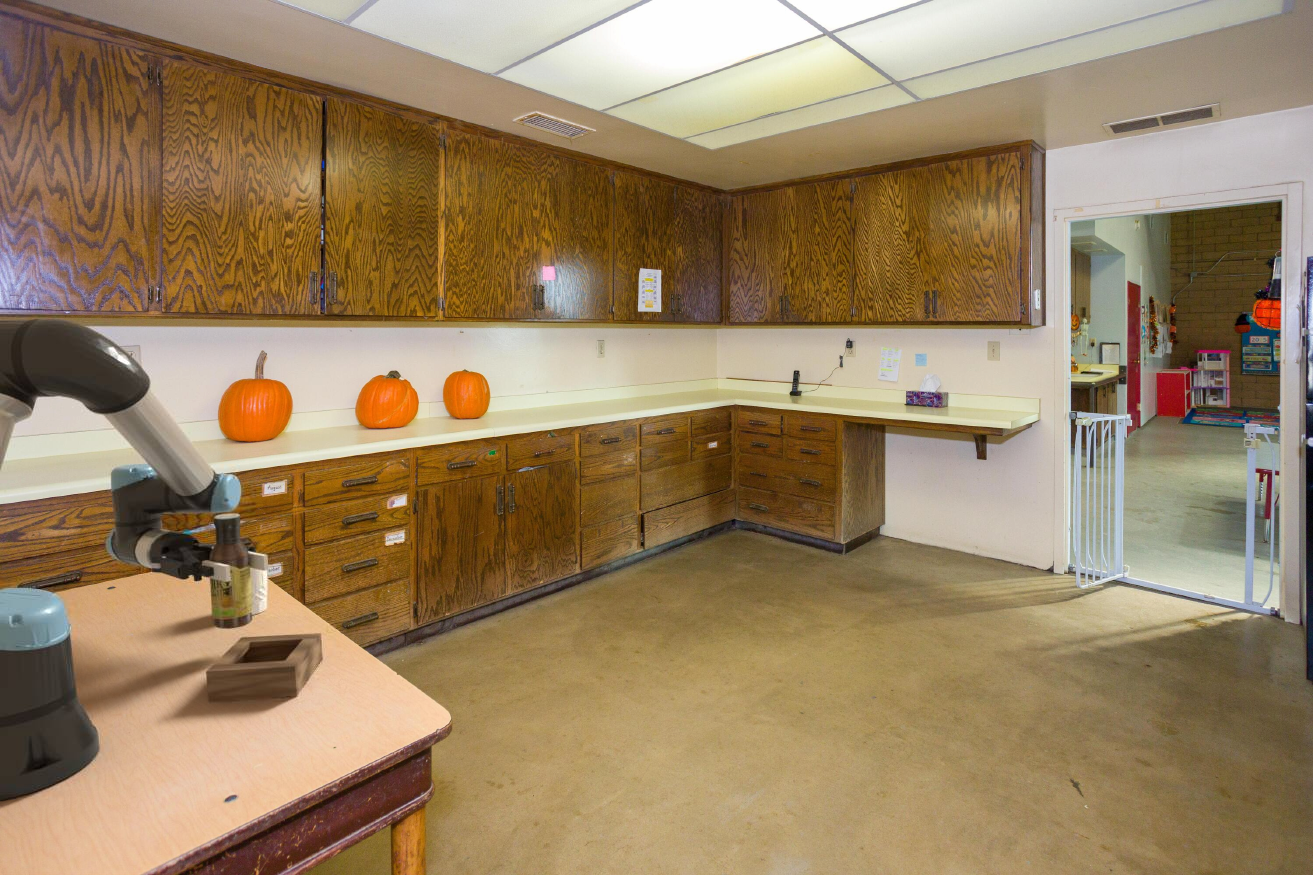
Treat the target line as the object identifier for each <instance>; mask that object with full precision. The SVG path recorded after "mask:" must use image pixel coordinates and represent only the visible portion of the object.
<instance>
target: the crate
mask: <svg viewBox="0 0 1313 875" xmlns="http://www.w3.org/2000/svg"><path fill="white" fill-rule="evenodd" d="M322 644H323V643H322V632H318V633H317V632H315V633H300V634H299V633H298V634H295V633H294V634H281V635H279V634H277V635H263V636H261V635H259V636H258V635H257V636H242V637H240V638H239V639H238V640H237V641H236V642H234V644H233V645H232V646H231V647H230V648H229V649H228V650H227V651H226V652H225V653H224V654H223V655H222V656H220V657H219V659H218V660H216V661H215V662H214V663H213V665H211V666H210V667H209V668H208V669H207V670H206V671H205V673H206V685H207V698H208V702H209V703H210V702H211V703H212V702H225V701H230V702H231V701H244V700H246V701H247V700H258V699H260V700H261V699H274V697H278V698H285V697H284V696H293V697H298V696H299V694H300V693H301V691H302V690H303V689H302V688H304V687H305V686H306V684H307V683H308V682H309V680H310V679H311V677H312V676H313V675H314V673H315V672H316V671H315V670H317V669H318V668H317V667H319V666H320V665H321V664H320V662H321V661H322V660H324V659H323V658H324V657H323V645H322ZM322 662H323V661H322ZM322 662H321V663H322ZM319 664H320V665H319ZM318 665H319V666H318ZM316 668H317V669H316ZM314 671H315V672H314ZM313 672H314V673H313ZM312 674H313V675H312ZM311 675H312V676H311ZM310 676H311V677H310ZM309 678H310V679H309ZM307 681H308V682H307ZM306 682H307V683H306ZM304 685H305V686H304ZM299 692H300V693H299ZM297 695H298V696H297ZM272 697H273V698H272Z"/></svg>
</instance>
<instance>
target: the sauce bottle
mask: <svg viewBox="0 0 1313 875" xmlns="http://www.w3.org/2000/svg"><path fill="white" fill-rule="evenodd" d="M212 523H213V525H214V528H215V534H214V535H215V542H216V543H215V544H214V545H215V546H214V548H213V549H212V551H211V553H210V561H212V562H216V563H221V564H226V565H230V576H231V581H228V582H225V581H220V580H216V579H212V578H209V583H210V599H211V600H210V601H211V616H212V618H213V619H212V620H213V626H215V627H216V628H219V629H225V630H226V629H227V630H229V629H237V628H241V627H244V626H247V625H249V624H250V623H251V622H252V621H253V615H252V613H251V612H252V595H251V575H250V563H249V552H248V550H247V548H246V547H245V545H246V544H244V543H243V541H242V540H241V537H242V536H241V531H240V529H241V526H240V524H241V515H240V514H239V513H223V514H222V513H221V514H218V515H215V516H214V517H213V522H212Z"/></svg>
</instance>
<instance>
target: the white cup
mask: <svg viewBox="0 0 1313 875" xmlns="http://www.w3.org/2000/svg"><path fill="white" fill-rule="evenodd" d="M250 575H251V595H252V612H251V613H252V616H254V615H259V614H261V613H262V612H264V611H265V610H266V609H268V570H266V571H263V570H258V569H253V568H250Z"/></svg>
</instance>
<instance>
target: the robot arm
mask: <svg viewBox="0 0 1313 875" xmlns="http://www.w3.org/2000/svg"><path fill="white" fill-rule="evenodd" d="M151 386H152V381H151V378H150V377H149V375H148V374H147V372H146V371H145V370H144V369H143V367H142V366H141V364H140V363H139V362H138V361H137V360H135V359H134V357H133V356H132V355H131V354H129V353H128V352H127V351H126V350H125V349H124V348H122V347H121V346H120V345H118V344H117V343H115V342H114V341H112V340H111V339H109V338H108V337H106V336H105V335H103V334H101V333H100V332H98V331H96V330H94V329H92V328H90V327H88V326H85V325H84V324H83V325H82V324H80V323H78V322H75V321H70V320H67V319H60V318H53V317H52V318H0V471H1V470H2V467H3V464H4V460H5V457H6V454H7V451H8V447H9V444H10V441H11V439H12V435H13V431H14V428H15V426H16V424H17V423H20V422H22V421H24V420H27V419H29V418H31V416H32V414H33V412H34V408H35V404H36V402H37V399H38V398H43V397H44V398H50V397H51V398H52V397H54V398H55V397H63V398H67V399H68V398H69V399H71V400H75V401H78V402H80V403H82V404H83V405H84V407H85V408H86V409H87V410H89V412H91V413H94V414H95V415H101V416H103V417H104V418H105V419H106V420H107V421H108V422H109V424H111V426H113V427H114V429H115V430H116V431H117V432H118V433H119V434H120V435H121V436H122V437H123V438H124V439H125V440H126V441H127V443H128V444H129V445H130V446H131V447H132V448H133V449H134V450H135V451H136V453H137V454H138V455H140V457H141V458H142V459H143V460H144V462H146V463H134V464H125V465H120V466H117V467H115V468H113V469H112V470H111V473H110V493H111V501H112V510H113V518H114V519H113V520H114V525H113V527H114V528H113V529H112V530H111V531H110V532H109V533H108V536H107V538H106V540H105V549H106V551H107V553H108V555H109V556H110V557H112V558H113V559H115V560H117V561H120V562H121V563H124V564H128V565H133V566H140V567H144V568H149V569H151V572H152V573H158V574H162V575H163V574H164V575H166V576H170V577H173V578H176V579H179V580H183V581H184V580H187V579H189V578H190V576H192V577H193V581H194V582H200V581H202V580H203V578H209V579H210V578H212V579H216V580H220V581H225V582H228V581H231V576H230V565H226V564H221V563H216V562H212V561H210V553H211V551H212V549H213V548H214V546H215V545H216V544H205V543H203V542H200V541H199V540H198V539H197V538H196V537H195V536H193V535H191V534H189V533H184V532H178V531H175V530H170V529H169V530H168V529H164V528H163V523H162V520H163V516H162V515H165V514H166V515H167V514H213V515H214V514H217V513H228V512H232V511H234V510H235V509H236V508H237V507H238V506H239V503H240V500H241V497H242V486H241V482H240V480H239V478H238V477H237V476H236V475H235V474H232V473H224V472H221V473H216V471H215V470H214V469H213V467H212V466H211V465H210V464H209V463H208V461H207V460H206V459H205V457H204V456H203V455H202V453H201V452H200V451H199V449H198V448H197V447H196V446H195V445H194V444H193V442H192V441H191V440H190V438H189V437H188V435H187V434H186V432H184V431H183V428H181V427H180V426H179V424H178V423H177V422H176V421H175V419H174V418H173V417H172V416H171V414H170V413H169V412H168V409H166V408H165V406H164V405H163V404H162V403H161V402H160V400H159V399H158V397H157V396H156V395H155V394H154V392H152V390H151ZM244 545H245V547H246V548H247V550H248V552H249V563H250V568H253V569H258V570H263V571H266V570H267V571H269V560H268V557H269V556H268V554H264V553H258V552H257V548H256V546H253V545H248V544H247V545H246V544H244ZM71 625H72V624H71V622H70V620H69V618H68V613H67V610H66V604H65V603H64V601H63V600H62V598H61V597H60V596H59V595H58V594H55V593H53V592H51V591H48V590H44V589H39V588H30V587H7V588H3V589H0V801H3V800H8V799H12V798H16V797H20V796H24V795H27V794H30V793H33V792H36V791H39V790H43V789H45V788H48V787H50V786H52V785H55V784H57V783H58V782H61V781H64V780H65V779H67V778H69V777H71V776H72V775H74V774H76V773H78V772H79V771H81V770H83V769H84V768H85V767H87V766H88V765H89V764H90V763H91V762H92V761H93V760H94V759H95V758H96V757H97V755H98V754H99V752H100V749H101V745H100V738H99V733H98V729H97V728H96V726H95V725H94V724H93V722H92V720H91V718H90V717H89V715H88V713H87V711H86V709H85V708H84V707H83V704H82V703H81V701H80V699H79V698H78V691H77V685H76V674H75V665H74V657H73V648H72V640H71V630H72V627H71Z"/></svg>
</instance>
